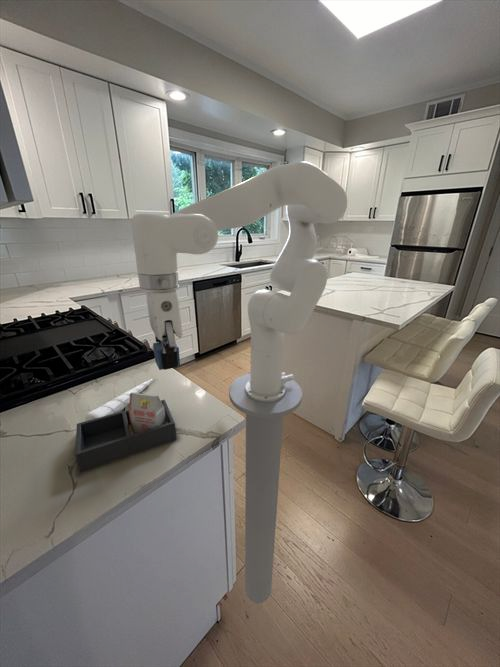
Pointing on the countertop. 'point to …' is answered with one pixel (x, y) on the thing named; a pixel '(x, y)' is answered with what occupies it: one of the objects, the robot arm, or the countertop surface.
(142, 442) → the sorter
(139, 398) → the white printed box
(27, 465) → the countertop surface
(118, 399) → the unicorn horn
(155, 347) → the block
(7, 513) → the countertop surface
